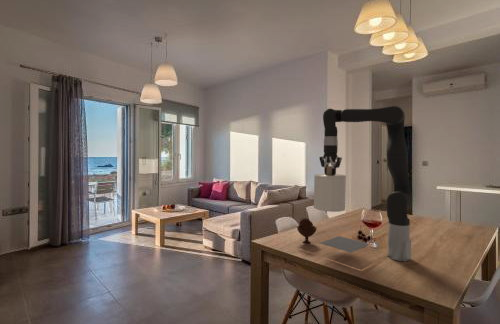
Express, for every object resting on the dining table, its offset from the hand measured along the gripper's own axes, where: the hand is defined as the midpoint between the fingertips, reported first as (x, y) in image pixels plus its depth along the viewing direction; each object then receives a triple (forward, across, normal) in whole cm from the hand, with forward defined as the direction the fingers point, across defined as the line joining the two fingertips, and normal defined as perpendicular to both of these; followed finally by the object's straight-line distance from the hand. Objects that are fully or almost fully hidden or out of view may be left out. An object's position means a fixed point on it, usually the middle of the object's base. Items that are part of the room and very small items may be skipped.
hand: (329, 174), depth 156 cm
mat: (+40, -7, -6) cm, 41 cm away
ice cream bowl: (+40, +8, +9) cm, 42 cm away
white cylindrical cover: (+19, 0, 0) cm, 19 cm away
